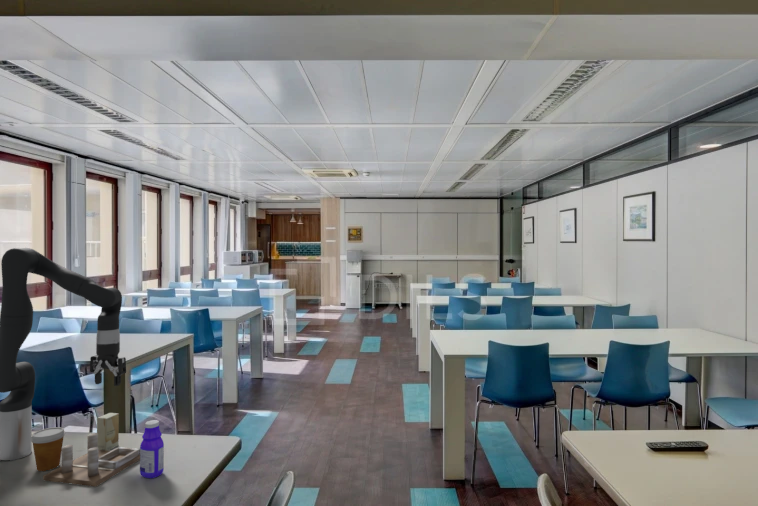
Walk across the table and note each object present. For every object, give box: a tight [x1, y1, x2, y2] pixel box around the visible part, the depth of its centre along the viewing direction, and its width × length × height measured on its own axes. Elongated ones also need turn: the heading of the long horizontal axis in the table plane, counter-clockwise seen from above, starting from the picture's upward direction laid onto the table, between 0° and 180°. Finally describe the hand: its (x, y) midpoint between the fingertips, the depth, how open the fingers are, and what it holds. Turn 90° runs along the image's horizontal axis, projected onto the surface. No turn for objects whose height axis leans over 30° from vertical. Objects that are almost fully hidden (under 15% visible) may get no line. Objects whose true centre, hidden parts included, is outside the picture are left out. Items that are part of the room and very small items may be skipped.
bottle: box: [139, 419, 165, 479], centre depth 147 cm, size 7×6×17 cm
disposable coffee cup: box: [31, 426, 66, 472], centre depth 153 cm, size 10×10×12 cm
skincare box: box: [96, 412, 120, 451], centre depth 168 cm, size 6×4×12 cm
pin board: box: [42, 432, 140, 487], centre depth 151 cm, size 20×20×10 cm
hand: (107, 384), depth 167 cm, fingers open, 8 cm apart
